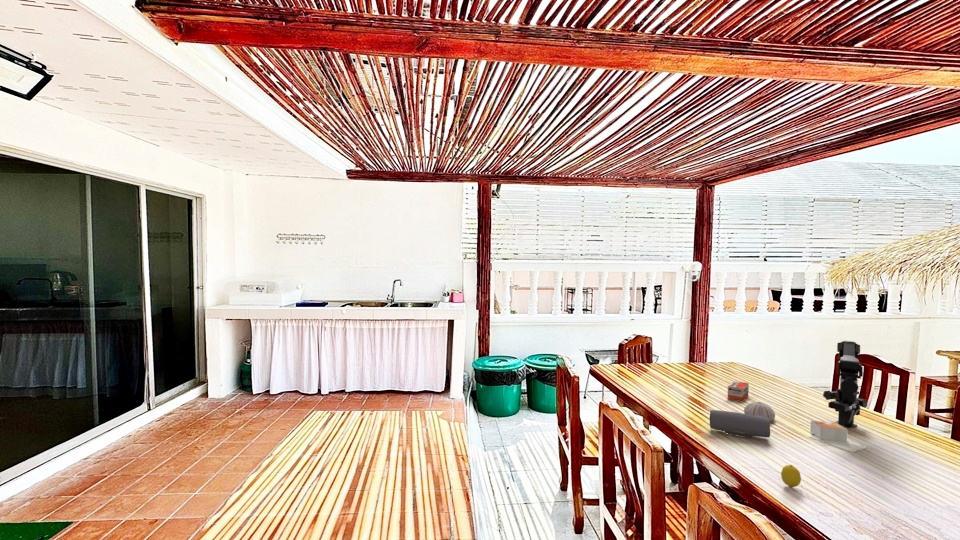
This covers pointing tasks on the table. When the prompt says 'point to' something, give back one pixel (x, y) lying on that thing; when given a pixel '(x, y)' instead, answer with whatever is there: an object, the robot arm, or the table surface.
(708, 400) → the table surface
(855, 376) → the robot arm
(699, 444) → the table surface
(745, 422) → the bluetooth speaker
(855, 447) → the mat
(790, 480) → the lemon
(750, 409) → the sea urchin shell
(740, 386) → the medicine box
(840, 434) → the small box
